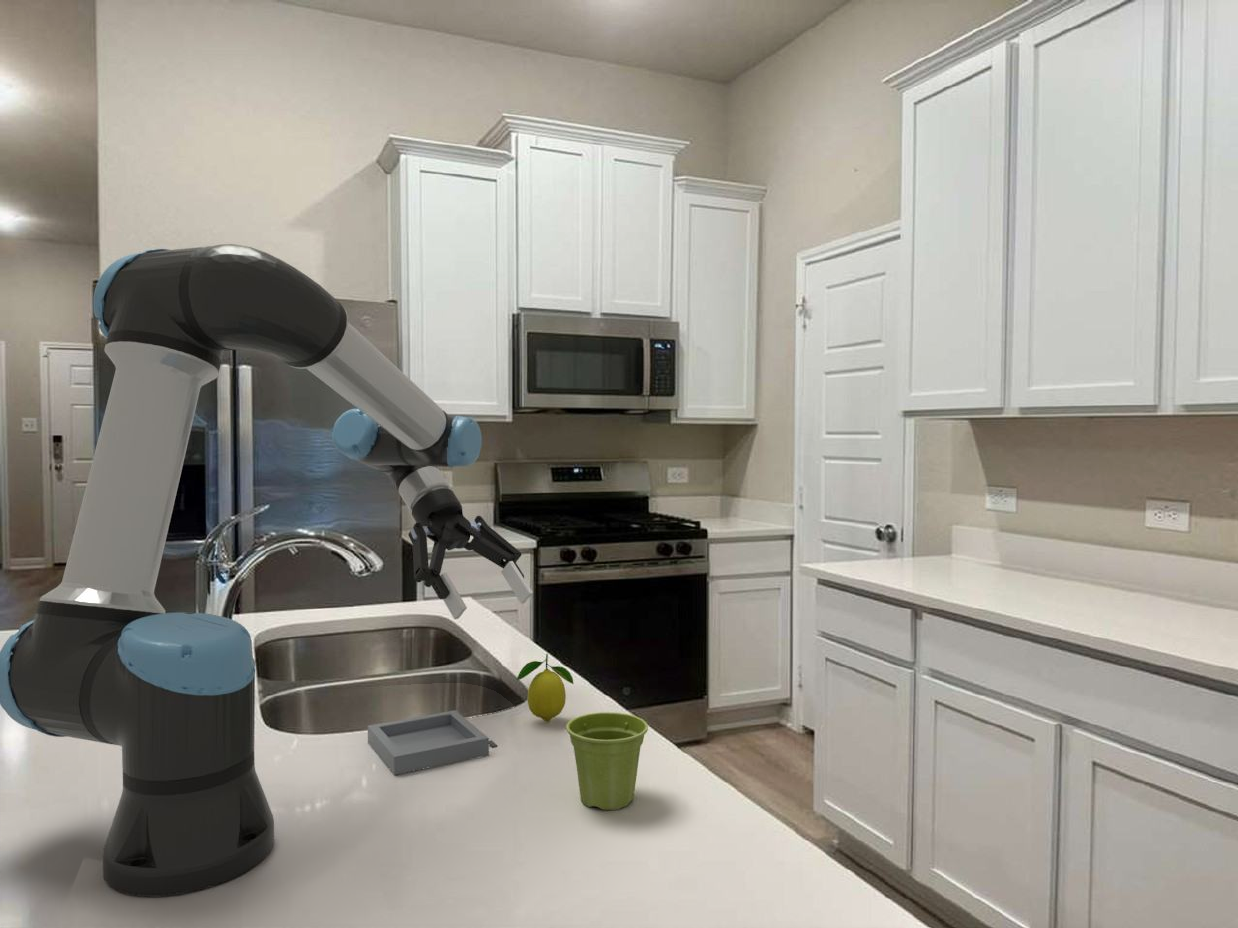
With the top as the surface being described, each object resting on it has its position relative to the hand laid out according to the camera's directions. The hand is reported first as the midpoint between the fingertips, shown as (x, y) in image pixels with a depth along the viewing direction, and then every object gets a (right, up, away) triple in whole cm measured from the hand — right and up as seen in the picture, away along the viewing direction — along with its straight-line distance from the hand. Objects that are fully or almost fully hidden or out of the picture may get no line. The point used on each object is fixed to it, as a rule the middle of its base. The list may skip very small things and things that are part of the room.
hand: (495, 605), depth 127 cm
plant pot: (+17, -17, -31) cm, 39 cm away
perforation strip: (0, -16, -12) cm, 20 cm away
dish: (-7, -16, -16) cm, 24 cm away
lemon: (+8, -16, -6) cm, 19 cm away
